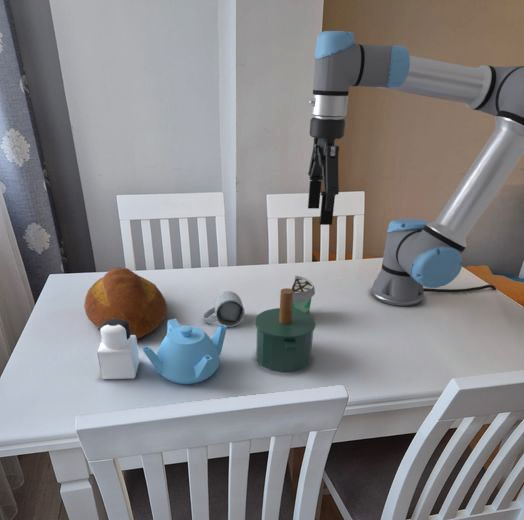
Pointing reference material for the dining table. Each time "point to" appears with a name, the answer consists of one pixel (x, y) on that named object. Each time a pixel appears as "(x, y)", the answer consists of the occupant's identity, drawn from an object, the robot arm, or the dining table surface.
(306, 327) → the canister lid
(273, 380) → the dining table surface
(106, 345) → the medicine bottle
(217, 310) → the ceramic mug
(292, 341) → the canister
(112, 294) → the bread
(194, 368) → the teapot
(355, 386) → the dining table surface
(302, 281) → the food container
